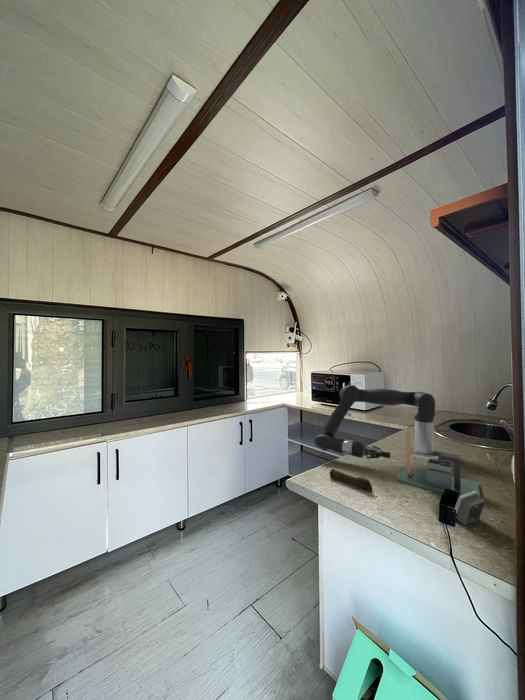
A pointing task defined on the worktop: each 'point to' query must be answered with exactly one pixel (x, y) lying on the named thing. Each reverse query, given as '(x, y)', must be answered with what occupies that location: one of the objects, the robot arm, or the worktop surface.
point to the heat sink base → (440, 476)
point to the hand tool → (352, 480)
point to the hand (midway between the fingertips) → (390, 455)
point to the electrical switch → (469, 507)
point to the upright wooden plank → (414, 454)
